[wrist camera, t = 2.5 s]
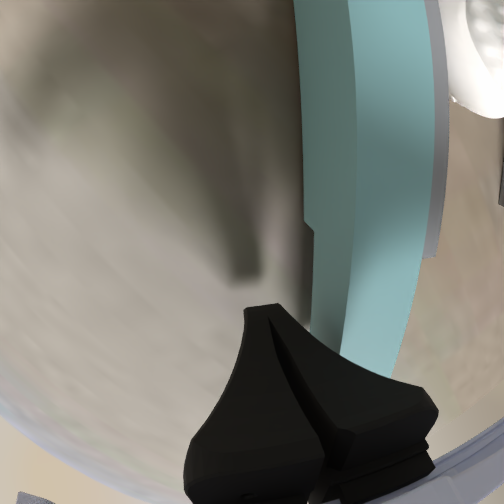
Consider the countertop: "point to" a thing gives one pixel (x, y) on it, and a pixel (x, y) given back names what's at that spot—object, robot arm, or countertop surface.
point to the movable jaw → (371, 165)
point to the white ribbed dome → (475, 54)
